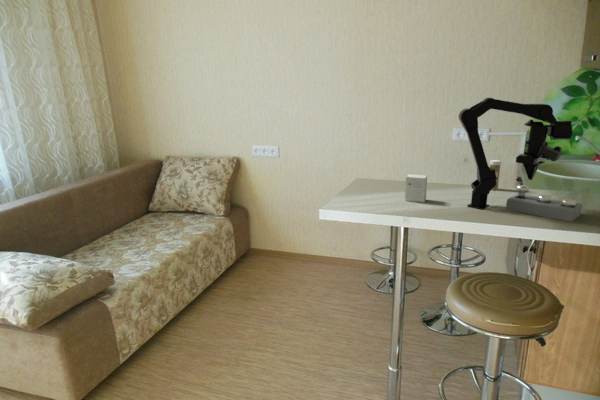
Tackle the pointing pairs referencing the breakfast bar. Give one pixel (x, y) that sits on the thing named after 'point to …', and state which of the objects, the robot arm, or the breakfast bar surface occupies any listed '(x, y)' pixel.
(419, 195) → the small box
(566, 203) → the knob right
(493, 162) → the sprinkles bottle
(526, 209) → the mount
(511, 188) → the breakfast bar surface
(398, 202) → the breakfast bar surface
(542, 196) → the knob middle
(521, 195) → the knob left
